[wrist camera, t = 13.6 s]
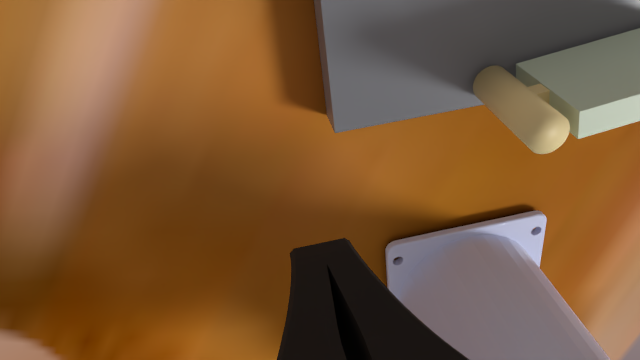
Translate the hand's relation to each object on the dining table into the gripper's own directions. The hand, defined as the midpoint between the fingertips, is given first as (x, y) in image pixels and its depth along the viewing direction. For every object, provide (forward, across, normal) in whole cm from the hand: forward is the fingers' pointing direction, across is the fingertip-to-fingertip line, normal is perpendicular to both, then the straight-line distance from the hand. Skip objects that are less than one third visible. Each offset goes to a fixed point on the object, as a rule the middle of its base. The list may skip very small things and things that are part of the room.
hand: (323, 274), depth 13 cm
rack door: (+8, -11, 0) cm, 14 cm away
